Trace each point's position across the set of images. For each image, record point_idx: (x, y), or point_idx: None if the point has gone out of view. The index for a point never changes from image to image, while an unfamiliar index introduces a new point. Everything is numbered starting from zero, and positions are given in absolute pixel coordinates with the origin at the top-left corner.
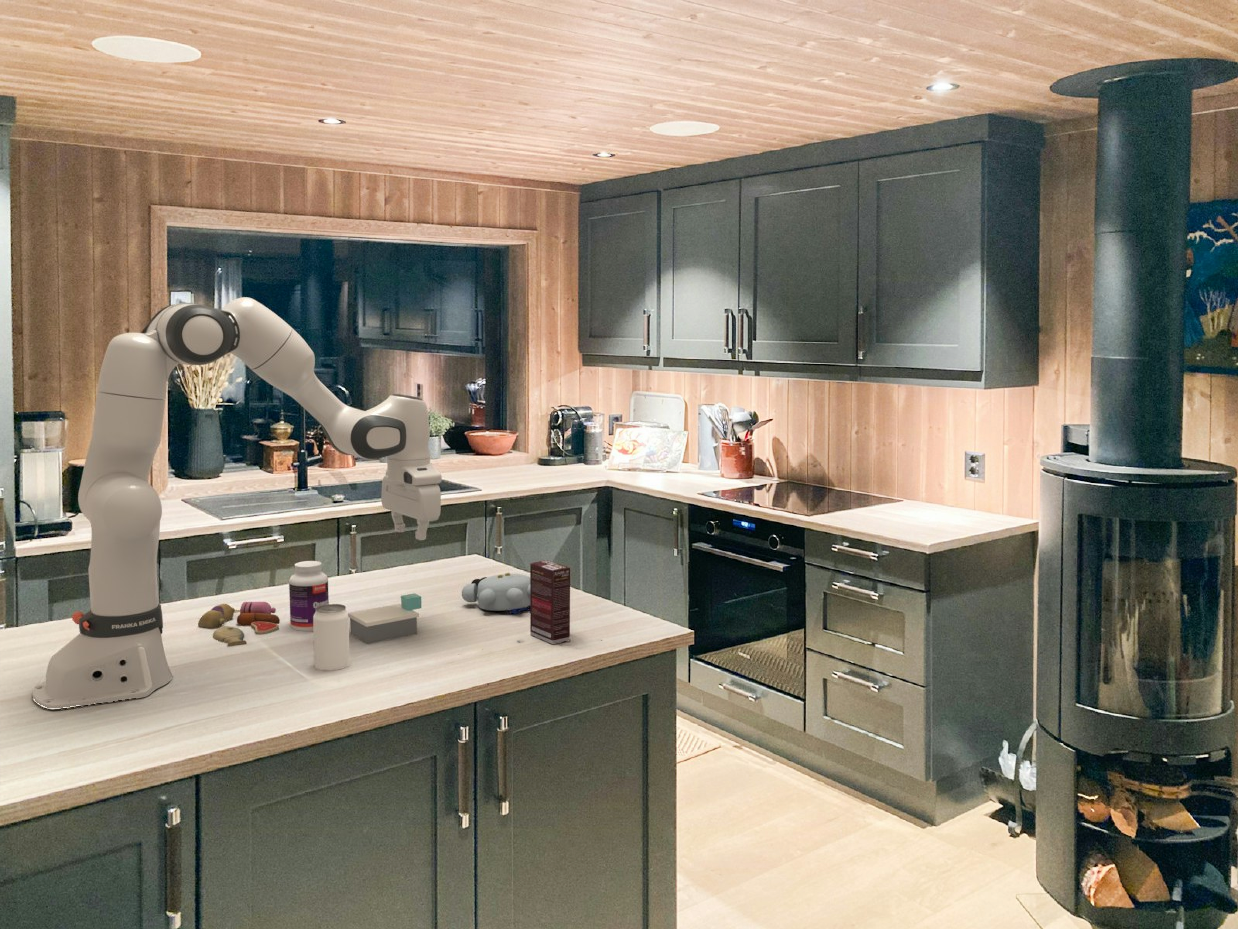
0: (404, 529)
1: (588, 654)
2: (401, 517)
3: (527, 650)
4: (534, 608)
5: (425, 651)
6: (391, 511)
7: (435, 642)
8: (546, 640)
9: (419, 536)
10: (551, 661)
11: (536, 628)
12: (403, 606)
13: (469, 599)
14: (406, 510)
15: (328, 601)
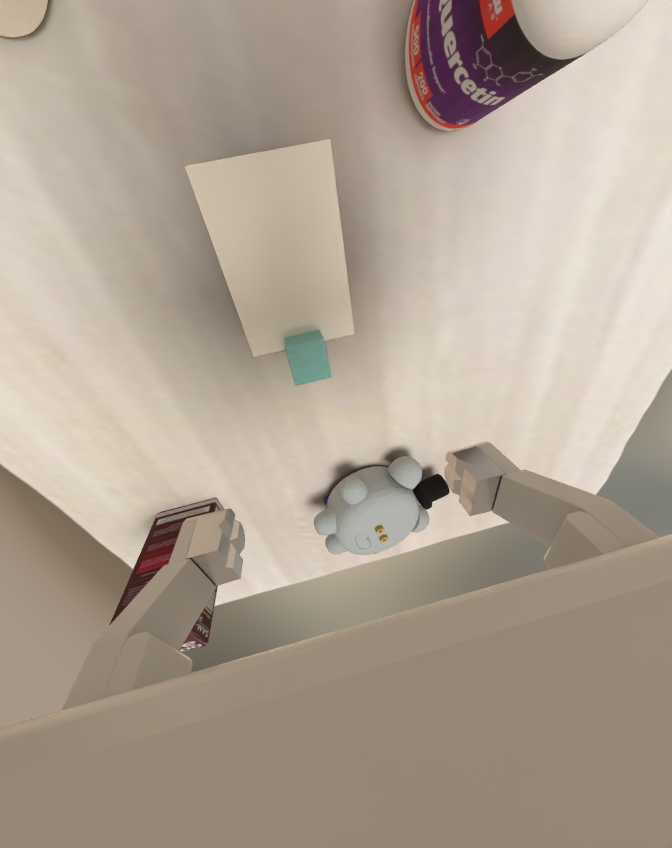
0: (451, 486)
1: (103, 539)
2: (536, 534)
3: (133, 482)
4: None
5: (152, 326)
6: (646, 529)
7: (214, 361)
8: (172, 511)
9: (179, 539)
10: (66, 499)
11: (195, 514)
12: (307, 333)
13: (392, 463)
14: (269, 750)
15: (473, 94)
